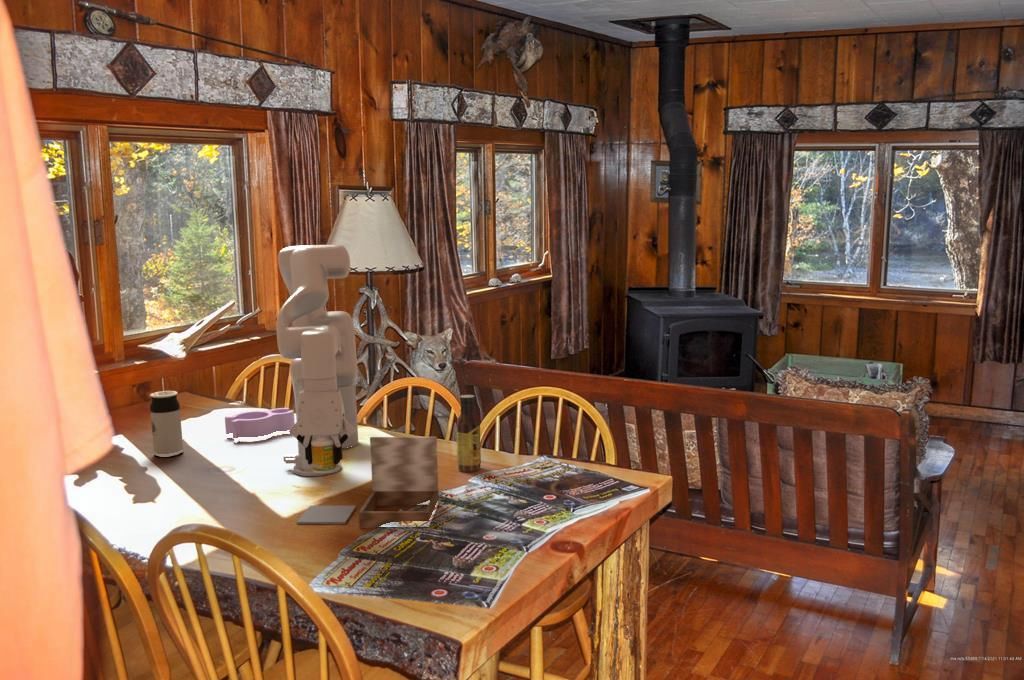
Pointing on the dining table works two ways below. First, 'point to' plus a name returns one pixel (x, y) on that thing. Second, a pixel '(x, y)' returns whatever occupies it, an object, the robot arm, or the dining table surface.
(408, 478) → the open wooden keepsake box
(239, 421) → the lilac molded tray
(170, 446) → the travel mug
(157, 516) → the dining table surface
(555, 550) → the dining table surface
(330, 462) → the supplement bottle
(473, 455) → the sauce bottle
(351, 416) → the cylinder vase
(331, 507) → the slate mat
